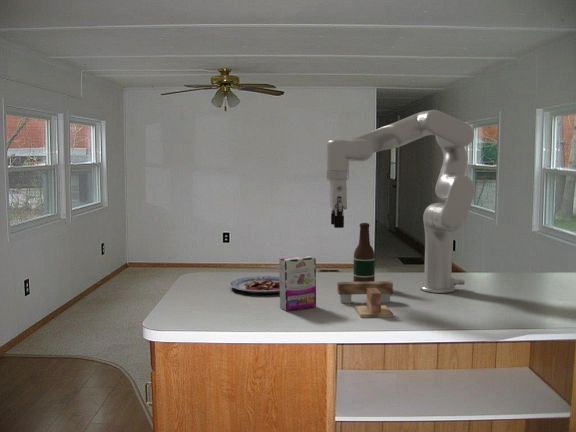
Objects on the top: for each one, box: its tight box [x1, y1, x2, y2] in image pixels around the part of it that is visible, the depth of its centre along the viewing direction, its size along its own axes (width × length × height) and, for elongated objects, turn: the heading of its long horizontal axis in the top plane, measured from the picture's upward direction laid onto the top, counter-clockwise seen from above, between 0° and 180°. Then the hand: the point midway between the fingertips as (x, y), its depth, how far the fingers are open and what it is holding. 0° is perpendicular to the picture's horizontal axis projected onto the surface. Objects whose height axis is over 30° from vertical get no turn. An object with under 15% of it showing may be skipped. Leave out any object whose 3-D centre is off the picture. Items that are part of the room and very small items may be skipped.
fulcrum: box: [354, 288, 394, 318], centre depth 180 cm, size 10×10×7 cm
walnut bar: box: [336, 280, 394, 296], centre depth 194 cm, size 18×4×4 cm, turn 94°
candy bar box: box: [278, 255, 317, 312], centre depth 186 cm, size 11×5×16 cm, turn 117°
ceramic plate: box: [229, 275, 280, 294], centre depth 215 cm, size 26×26×3 cm
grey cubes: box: [339, 294, 391, 304], centre depth 194 cm, size 16×2×3 cm, turn 94°
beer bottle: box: [353, 222, 376, 282], centre depth 215 cm, size 8×8×24 cm
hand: (337, 226), depth 199 cm, fingers open, 9 cm apart
